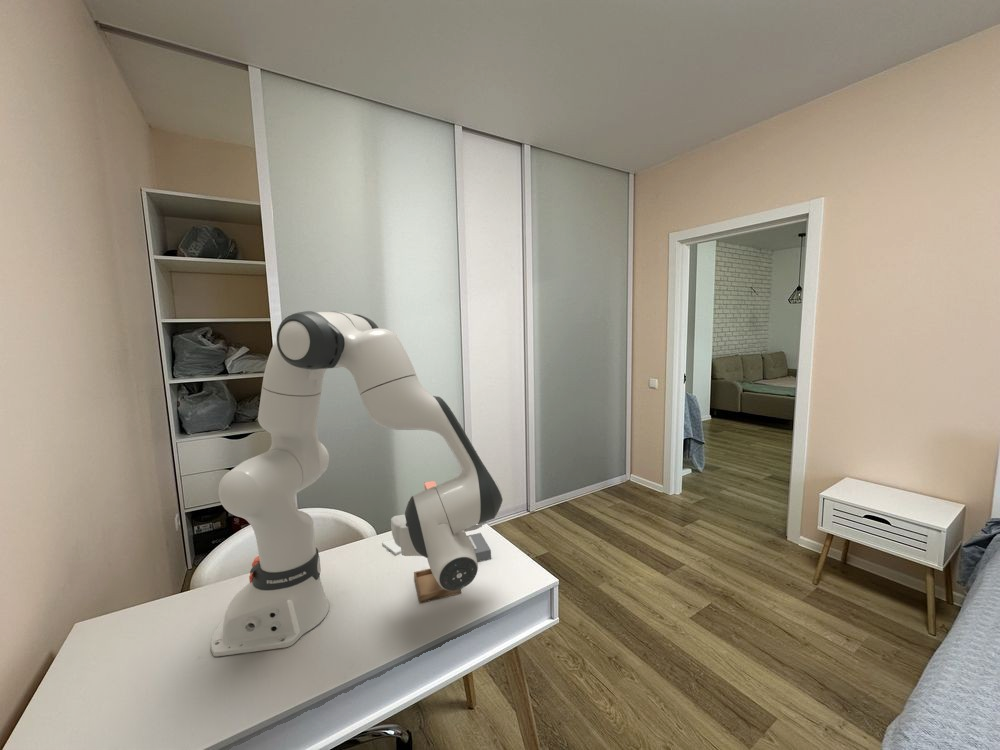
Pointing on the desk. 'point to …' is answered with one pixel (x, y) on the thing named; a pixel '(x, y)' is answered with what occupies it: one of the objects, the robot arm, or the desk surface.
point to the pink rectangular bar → (429, 484)
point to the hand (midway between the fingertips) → (431, 507)
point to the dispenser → (480, 547)
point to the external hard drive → (392, 547)
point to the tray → (430, 587)
